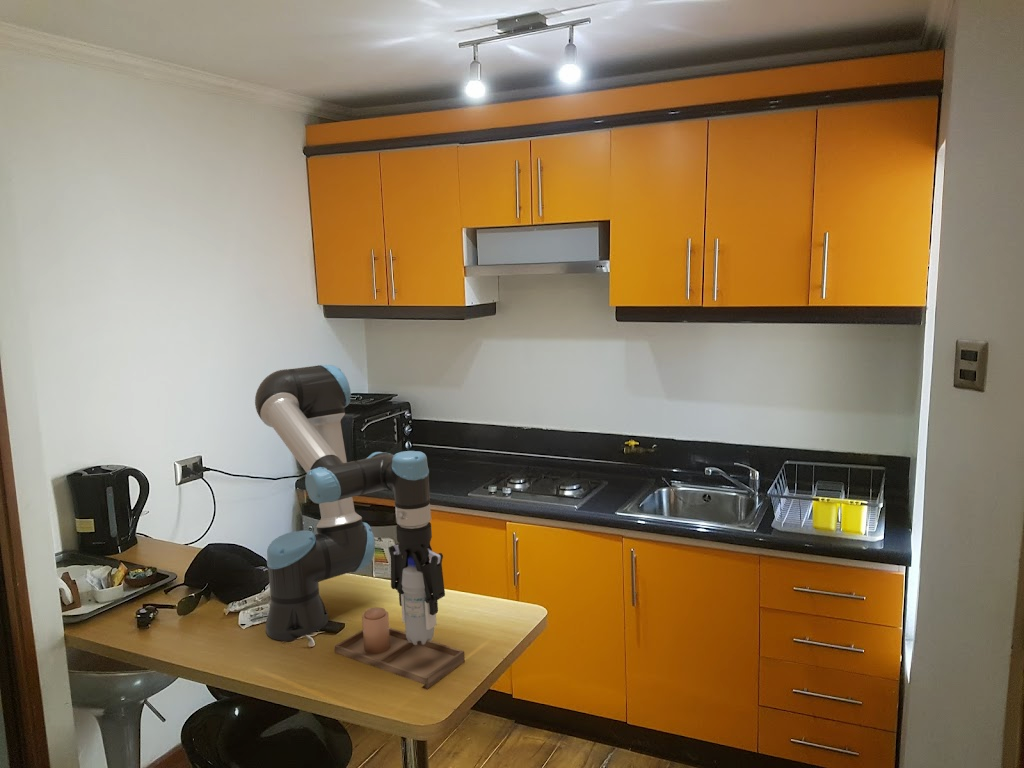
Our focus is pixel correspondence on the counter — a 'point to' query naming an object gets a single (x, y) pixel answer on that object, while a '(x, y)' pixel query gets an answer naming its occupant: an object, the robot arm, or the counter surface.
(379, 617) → the jar
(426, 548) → the robot arm
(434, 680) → the caddy
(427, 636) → the bottle
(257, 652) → the counter surface
